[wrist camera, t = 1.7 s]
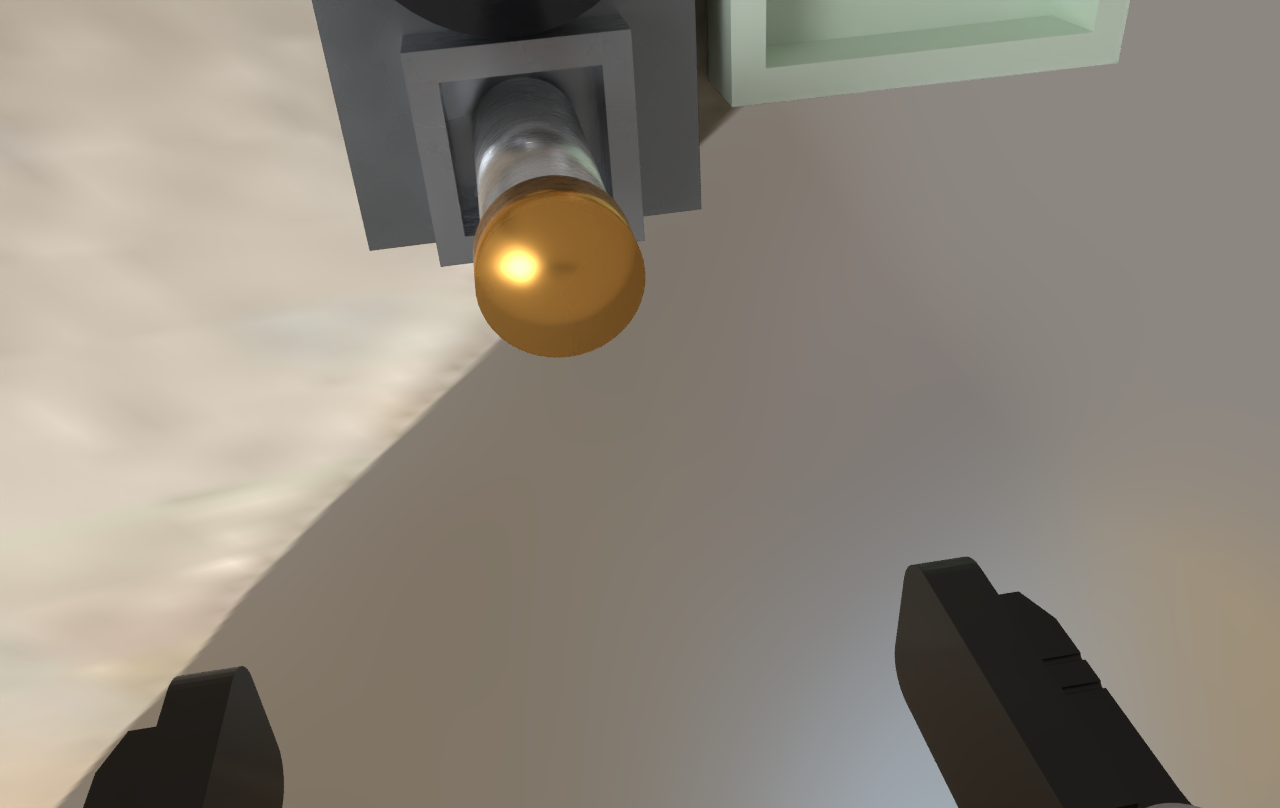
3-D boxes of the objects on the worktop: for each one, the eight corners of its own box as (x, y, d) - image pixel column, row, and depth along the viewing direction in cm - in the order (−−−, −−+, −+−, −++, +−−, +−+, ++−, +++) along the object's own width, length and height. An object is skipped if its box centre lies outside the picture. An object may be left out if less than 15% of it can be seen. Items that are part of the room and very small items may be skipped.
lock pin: (455, 76, 27) (461, 213, 19) (579, 63, 27) (640, 191, 19) (475, 195, 29) (488, 367, 20) (590, 181, 29) (649, 345, 21)
